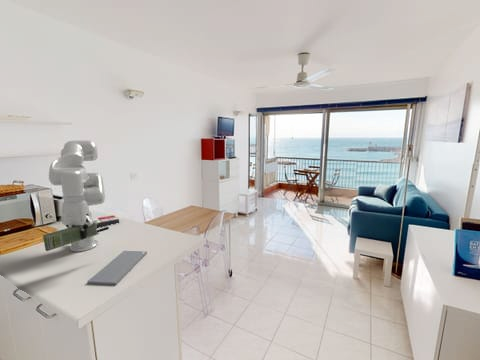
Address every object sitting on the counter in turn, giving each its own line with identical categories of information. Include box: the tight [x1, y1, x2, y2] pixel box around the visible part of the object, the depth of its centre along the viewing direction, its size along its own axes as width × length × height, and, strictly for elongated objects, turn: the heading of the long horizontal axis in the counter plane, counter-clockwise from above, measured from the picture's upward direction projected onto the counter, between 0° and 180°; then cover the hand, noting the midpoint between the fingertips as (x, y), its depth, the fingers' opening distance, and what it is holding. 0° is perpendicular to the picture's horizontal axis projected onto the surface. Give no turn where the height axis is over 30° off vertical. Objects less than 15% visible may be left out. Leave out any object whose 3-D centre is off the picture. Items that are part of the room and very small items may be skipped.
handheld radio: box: [42, 220, 110, 252], centre depth 105 cm, size 7×3×25 cm
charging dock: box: [86, 250, 148, 286], centre depth 106 cm, size 12×26×1 cm, turn 176°
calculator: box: [92, 214, 120, 228], centre depth 159 cm, size 11×4×15 cm
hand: (79, 237), depth 105 cm, fingers closed on handheld radio, 3 cm apart
